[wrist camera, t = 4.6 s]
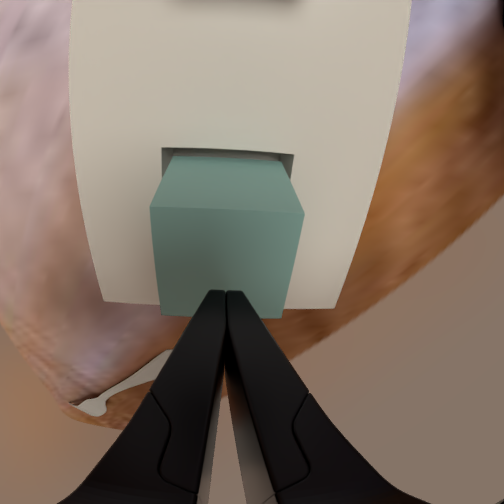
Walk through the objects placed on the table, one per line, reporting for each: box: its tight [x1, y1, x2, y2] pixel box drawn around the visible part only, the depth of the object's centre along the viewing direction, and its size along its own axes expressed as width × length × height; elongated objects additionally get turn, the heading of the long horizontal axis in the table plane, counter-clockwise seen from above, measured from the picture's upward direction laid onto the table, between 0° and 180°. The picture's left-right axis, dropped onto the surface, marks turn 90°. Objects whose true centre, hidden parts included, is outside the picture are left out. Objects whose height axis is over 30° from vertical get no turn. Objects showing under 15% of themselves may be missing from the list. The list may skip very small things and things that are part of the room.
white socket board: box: [69, 0, 412, 309], centre depth 10 cm, size 12×22×4 cm, turn 174°
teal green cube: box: [149, 156, 305, 318], centre depth 11 cm, size 4×4×4 cm
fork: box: [68, 350, 172, 416], centre depth 26 cm, size 3×21×3 cm, turn 127°
